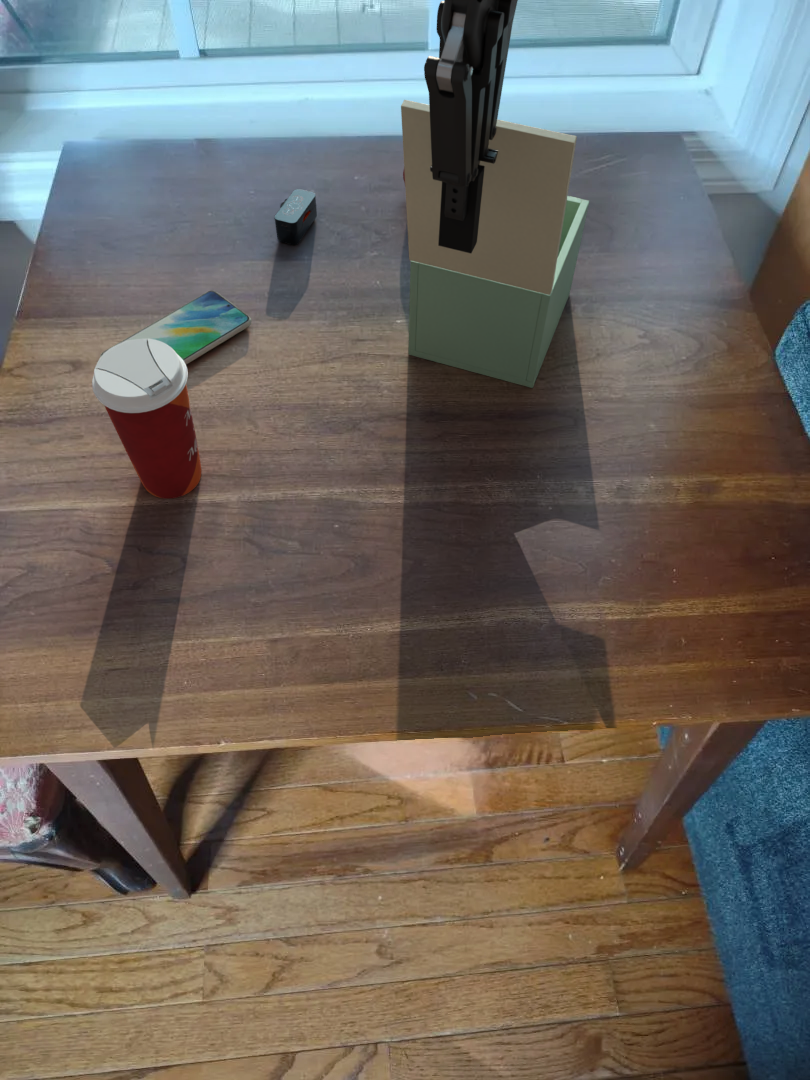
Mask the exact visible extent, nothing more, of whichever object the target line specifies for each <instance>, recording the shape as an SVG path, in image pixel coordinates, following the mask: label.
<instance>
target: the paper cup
mask: <svg viewBox="0 0 810 1080" xmlns="http://www.w3.org/2000/svg"><path fill="white" fill-rule="evenodd" d="M118 343H119V342H118ZM118 343H116V344H117V345H116V344H114V345H115V346H114V345H112V346H113V347H112V346H111V347H112V348H111V347H109V348H110V349H109V348H108V349H109V350H107V349H106V350H107V351H106V352H105V353H104V354H103V355H102V356H101V357H100V356H99V359H98V361H97V362H96V364H95V367H94V369H93V375H92V381H91V388H92V392H93V395H94V396H95V398H96V399H97V400H98V402H99V403H100V404H102V405H103V406H104V409H105V410H106V413H107V414H108V417H109V418H110V421H111V423H112V425H113V427H114V429H115V431H116V434H117V436H118V437H119V440H120V442H121V444H122V447H123V448H124V450H125V453H126V454H127V456H128V459H129V460H130V463H131V464H132V467H133V468H134V471H135V473H136V474H137V477H138V478H139V480H140V482H141V484H142V486H143V488H144V489H145V490H146V491H147V492H148V493H149V494H150V495H152V496H154V497H156V498H160V499H166V500H167V499H177V498H181V497H183V496H185V495H187V494H189V493H191V492H192V491H193V490H194V489H195V488H196V487H197V486H198V484H199V483H200V481H201V478H202V464H201V456H200V451H199V450H200V449H199V446H198V439H197V435H196V428H195V423H194V417H193V413H192V407H191V403H190V397H189V390H188V386H187V382H188V378H189V372H188V371H189V370H188V366H187V364H185V362H184V361H183V359H182V358H181V357H180V356H179V355H178V354H177V353H176V352H175V351H174V350H173V349H172V348H171V347H170V346H168V345H167V344H165V343H163V342H161V341H158V340H154V339H148V340H147V339H134V340H128V341H124V342H122V343H119V344H118Z"/></svg>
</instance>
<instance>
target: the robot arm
mask: <svg viewBox="0 0 810 1080" xmlns="http://www.w3.org/2000/svg"><path fill="white" fill-rule="evenodd" d="M518 1H519V0H440V2H439V5H438V8H437V14H436V33H437V36H438V37H439V49H438V51H439V52H438V57H437V56H432V55H428V56H427V58H426V59H425V63H424V65H423V71H424V72H423V73H424V74H423V75H424V80H425V83H426V87H427V91H428V105H429V108H430V131H431V154H432V166H431V167H430V171H431V172H432V176H433V180H438V181H442V191H441V208H440V225H439V242H438V246H442V247H446V248H450V249H454V250H458V251H463V252H467V253H472V251H473V249H474V247H475V245H476V243H477V236H478V227H479V217H480V207H481V197H482V187H483V178H484V168H485V166H482V165H480V161H484V162H488V163H493V164H494V163H495V161H496V158H497V154H498V150H493V149H489V148H488V145H489V140H492V139H493V138H494V136H495V134H496V130H497V128H496V124H497V119H498V117H499V111H500V104H501V98H502V94H503V93H502V92H503V86H504V80H505V74H506V67H507V61H508V54H509V48H510V42H511V36H512V29H513V23H514V20H515V15H516V10H517V5H518Z"/></svg>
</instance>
